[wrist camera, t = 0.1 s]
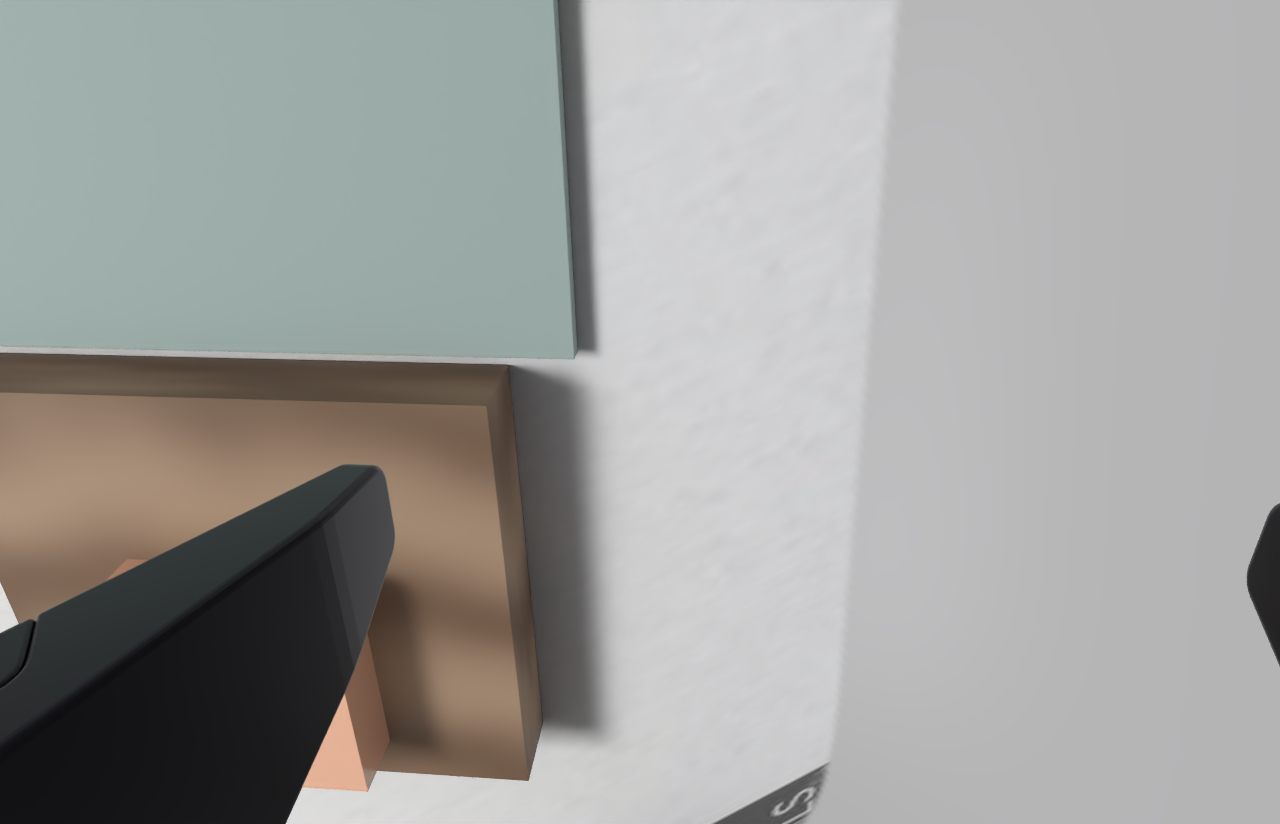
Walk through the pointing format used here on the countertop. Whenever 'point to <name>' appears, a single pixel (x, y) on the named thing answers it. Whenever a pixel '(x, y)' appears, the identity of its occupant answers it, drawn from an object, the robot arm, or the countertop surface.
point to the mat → (285, 177)
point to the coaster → (345, 728)
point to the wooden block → (273, 464)
